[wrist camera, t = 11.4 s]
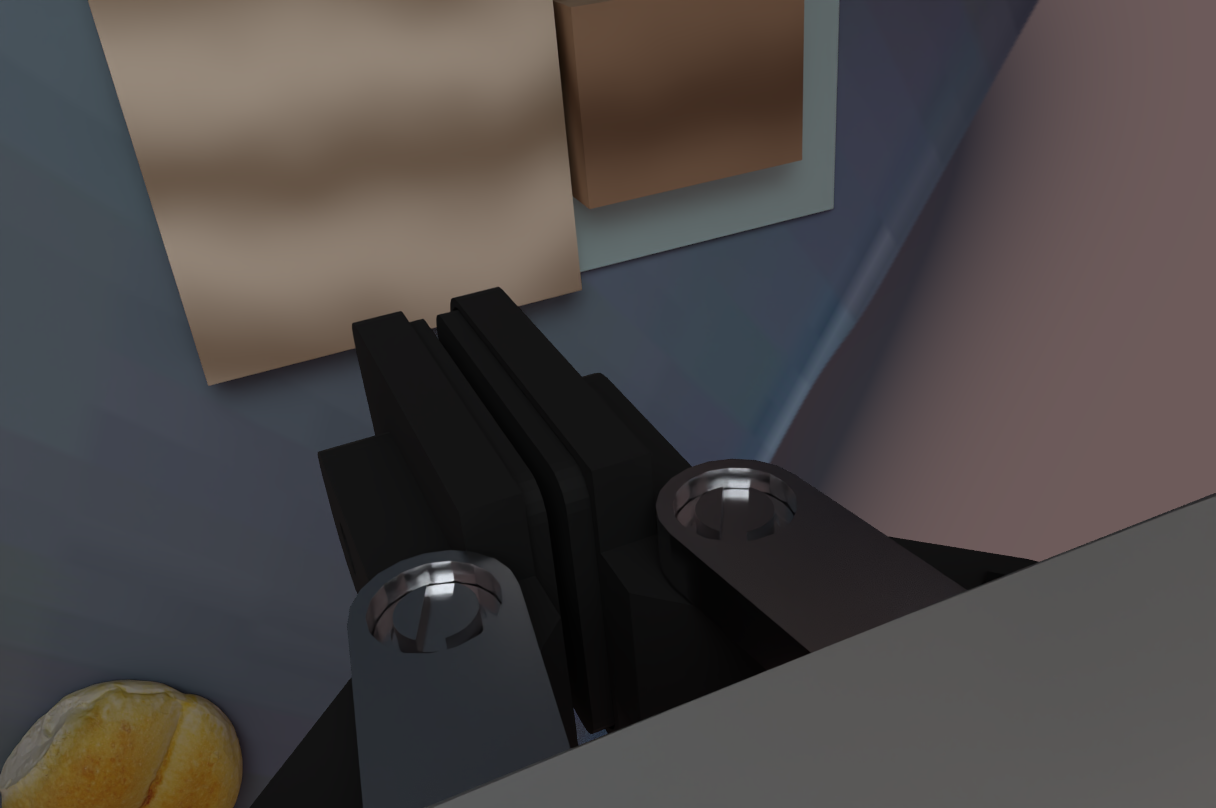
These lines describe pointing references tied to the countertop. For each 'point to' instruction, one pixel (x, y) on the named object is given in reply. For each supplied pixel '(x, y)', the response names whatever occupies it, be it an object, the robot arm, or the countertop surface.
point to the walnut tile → (677, 92)
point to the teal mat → (737, 197)
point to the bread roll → (126, 752)
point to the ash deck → (344, 162)
